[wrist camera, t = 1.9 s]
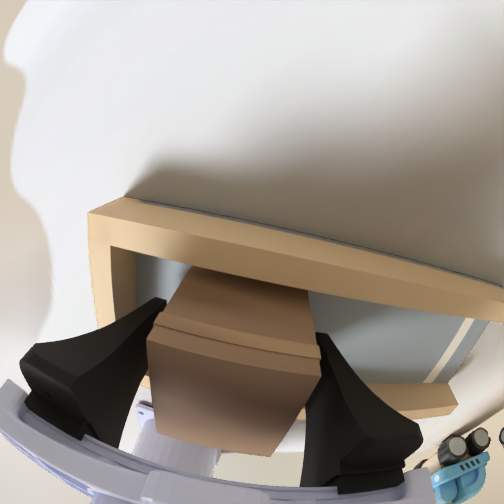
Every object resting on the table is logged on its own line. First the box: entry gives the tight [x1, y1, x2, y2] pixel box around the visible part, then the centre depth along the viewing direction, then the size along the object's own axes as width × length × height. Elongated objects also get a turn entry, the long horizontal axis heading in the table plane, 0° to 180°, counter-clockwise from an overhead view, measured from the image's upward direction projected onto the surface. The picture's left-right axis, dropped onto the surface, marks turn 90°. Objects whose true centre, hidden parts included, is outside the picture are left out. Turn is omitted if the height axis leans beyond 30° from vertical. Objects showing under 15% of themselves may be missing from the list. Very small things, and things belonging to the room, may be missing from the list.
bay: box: [87, 197, 504, 420], centre depth 13 cm, size 10×24×3 cm, turn 79°
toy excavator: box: [413, 428, 491, 504], centre depth 14 cm, size 9×17×17 cm, turn 82°
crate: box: [146, 265, 321, 457], centre depth 11 cm, size 6×5×6 cm
